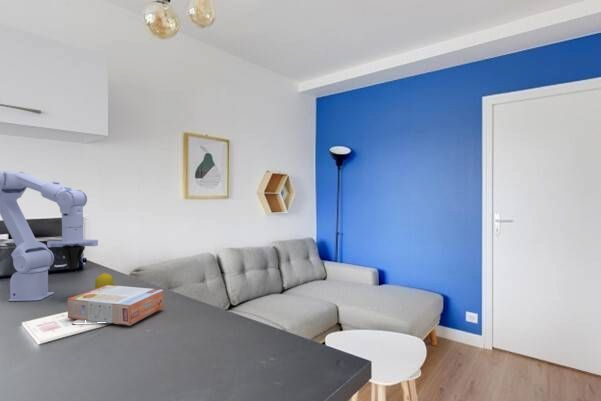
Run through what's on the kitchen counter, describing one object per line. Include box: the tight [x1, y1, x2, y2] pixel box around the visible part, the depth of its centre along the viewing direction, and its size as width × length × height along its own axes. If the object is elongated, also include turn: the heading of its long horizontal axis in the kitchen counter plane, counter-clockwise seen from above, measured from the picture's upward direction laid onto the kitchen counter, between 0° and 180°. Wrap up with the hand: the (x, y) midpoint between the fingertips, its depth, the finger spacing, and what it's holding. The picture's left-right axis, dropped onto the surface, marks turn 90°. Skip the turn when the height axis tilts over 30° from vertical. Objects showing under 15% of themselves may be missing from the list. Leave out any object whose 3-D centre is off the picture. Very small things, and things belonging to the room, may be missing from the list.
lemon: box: [94, 272, 115, 289], centre depth 115 cm, size 6×6×8 cm
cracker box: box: [67, 285, 164, 326], centre depth 97 cm, size 14×6×21 cm
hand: (73, 268), depth 110 cm, fingers closed
